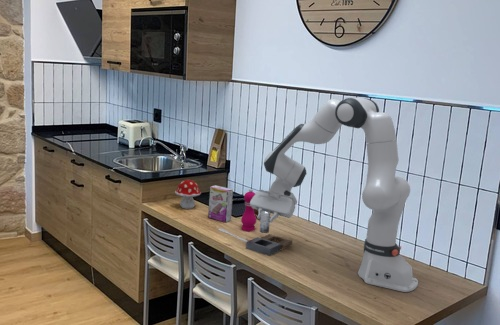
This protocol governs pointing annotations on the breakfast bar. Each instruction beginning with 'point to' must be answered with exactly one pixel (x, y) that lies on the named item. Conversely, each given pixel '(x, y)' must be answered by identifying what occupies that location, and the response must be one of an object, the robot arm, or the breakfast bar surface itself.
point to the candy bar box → (220, 203)
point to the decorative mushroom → (187, 193)
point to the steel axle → (264, 221)
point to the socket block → (263, 246)
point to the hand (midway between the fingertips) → (264, 220)
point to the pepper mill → (248, 213)
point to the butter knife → (232, 234)
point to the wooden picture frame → (278, 240)
